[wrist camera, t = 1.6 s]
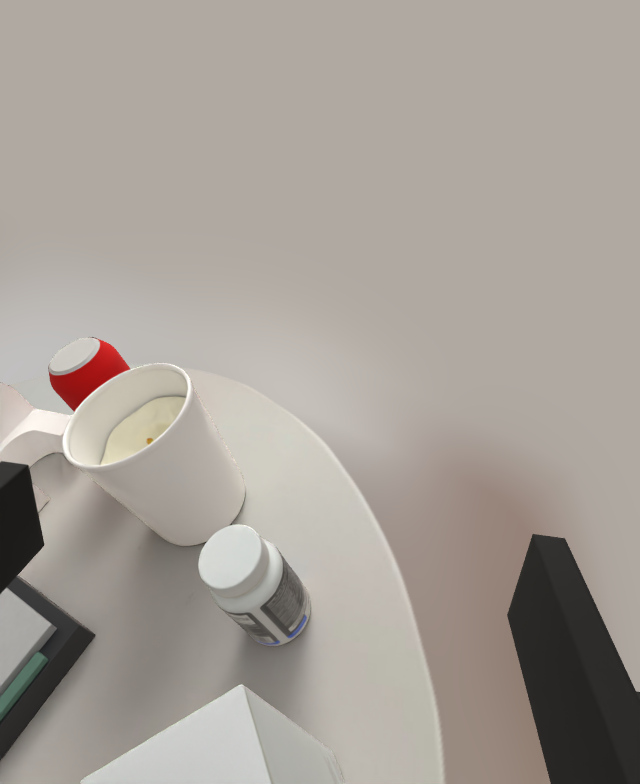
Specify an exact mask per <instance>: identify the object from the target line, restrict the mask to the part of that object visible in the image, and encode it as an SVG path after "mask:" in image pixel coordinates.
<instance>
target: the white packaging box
mask: <svg viewBox="0 0 640 784" xmlns="http://www.w3.org/2000/svg"><path fill="white" fill-rule="evenodd" d="M80 784H345V783H344V780H343V777H342V775H341V772H340V769H339V767H338V764H337V761H336V759H335V756H334V754H333V752H332V750H331V749H330V748H328V747H327V746H325V745H324V744H322V743H321V742H320V741H319V740H317V739H316V738H315V737H313V736H312V735H311V734H309V733H308V732H306V731H305V730H304V729H302V728H301V727H300V726H298V725H297V724H295V723H294V722H293V721H292V720H290V719H289V718H288V717H286V716H285V715H284V714H282V713H281V712H279V711H278V710H277V709H275V708H274V707H272V706H271V705H270V704H268V703H267V702H266V701H264V700H263V699H262V698H260V697H259V696H258V695H256V694H255V693H253V692H252V691H251V690H250V689H248V688H247V687H245V686H244V685H243V684H240V685H239V686H237V687H235V688H233V689H232V690H230V691H228V692H227V693H225V694H224V695H222V696H220V697H219V698H217V699H215V700H213V701H212V702H210V703H208V704H207V705H205V706H203V707H202V708H200V709H198V710H197V711H195V712H193V713H192V714H190V715H188V716H187V717H185V718H183V719H182V720H180V721H178V722H177V723H175V724H173V725H172V726H170V727H168V728H167V729H165V730H163V731H162V732H160V733H158V734H157V735H155V736H153V737H152V738H150V739H148V740H147V741H145V742H143V743H142V744H140V745H138V746H137V747H135V748H133V749H132V750H130V751H128V752H127V753H125V754H124V755H122V756H120V757H119V758H117V759H115V760H114V761H112V762H110V763H109V764H107V765H105V766H104V767H102V768H100V769H99V770H97V771H95V772H94V773H92V774H90V775H89V776H87V777H85V778H83V779H82V780H81V781H80Z"/></svg>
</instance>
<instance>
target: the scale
mask: <svg viewBox="0 0 640 784" xmlns="http://www.w3.org/2000/svg"><path fill="white" fill-rule="evenodd" d="M94 636H95V634H94V633H93V632H91V631H90V630H89V629H87V628H86V627H85V626H83V625H82V624H81V623H79V622H78V621H77V620H76V619H74V618H73V617H72V616H70V615H69V614H68V613H66V612H65V611H64V610H62V609H61V608H60V607H59V606H57V605H56V604H55V603H53V602H52V601H51V600H49V599H48V598H47V597H45V596H44V595H43V594H41V593H40V592H39V591H38V590H36V589H35V588H34V587H32V586H31V585H30V584H28V583H27V582H26V581H24V580H23V579H22V578H20V577H19V576H16V577H15V579H14V580H13V581H12V582H11V583H10V584H9V585H8V586H7V587H6V589H5V590H4V591H3V592H2V593H1V594H0V760H1V759H2V757H3V756H4V755H5V753H6V752H7V751H8V749H9V748H10V747H11V745H12V744H13V743H14V741H15V740H16V739H17V738H18V736H19V735H20V734H21V732H22V731H23V730H24V728H25V727H26V726H27V724H28V723H29V722H30V720H31V719H32V718H33V716H34V715H35V714H36V712H37V711H38V710H39V709H40V707H41V706H42V705H43V703H44V702H45V701H46V699H47V698H48V697H49V695H50V694H51V693H52V691H53V690H54V689H55V687H56V686H57V685H58V684H59V682H60V681H61V680H62V678H63V677H64V676H65V674H66V673H67V672H68V670H69V669H70V668H71V666H72V665H73V664H74V662H75V661H76V660H77V658H78V657H79V656H80V655H81V653H82V652H83V651H84V649H85V648H86V647H87V645H88V644H89V643H90V641H91V640H92V639H93V637H94Z"/></svg>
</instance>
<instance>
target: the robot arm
mask: <svg viewBox="0 0 640 784" xmlns="http://www.w3.org/2000/svg"><path fill="white" fill-rule="evenodd" d="M43 546H44V541H43V536H42V531H41V526H40V521H39V516H38V510H37V505H36V500H35V495H34V490H33V485H32V480H31V475H30V470H29V465H27V464H19V463H12V462H5V461H1V462H0V594H1V593H2V592H3V591H4V590H5V589H6V587H7V586H8V585H9V584H10V583H11V582H12V581H13V580H14V579H15V577H16V576H17V575H18V574H19V573H20V572H21V571H22V570H23V569H24V567H25V566H26V565H27V564H28V563H29V562H30V561H31V560H32V559H33V557H34V556H35V555H36V554H37V553H38V552H39V551H40V550H41V549H42V547H43ZM507 615H508V620H509V624H510V627H511V631H512V635H513V639H514V643H515V647H516V651H517V654H518V658H519V662H520V666H521V670H522V674H523V678H524V681H525V685H526V689H527V693H528V697H529V701H530V705H531V709H532V713H533V716H534V720H535V724H536V727H537V732H538V736H539V740H540V744H541V747H542V751H543V755H544V759H545V763H546V767H547V771H548V774H549V778H550V782H551V784H640V692H636V691H635V688H634V686H633V684H632V682H631V680H630V678H629V676H628V673H627V671H626V669H625V667H624V665H623V663H622V660H621V658H620V656H619V654H618V652H617V650H616V648H615V645H614V643H613V641H612V639H611V637H610V635H609V632H608V630H607V628H606V626H605V624H604V622H603V619H602V617H601V615H600V613H599V611H598V609H597V607H596V604H595V602H594V600H593V598H592V596H591V594H590V591H589V589H588V587H587V585H586V583H585V581H584V579H583V576H582V574H581V572H580V570H579V568H578V566H577V563H576V561H575V559H574V557H573V555H572V553H571V550H570V548H569V546H568V544H567V542H566V540H565V539H564V538H558V537H550V536H543V535H535V534H533V535H532V538H531V542H530V545H529V548H528V551H527V554H526V557H525V561H524V564H523V567H522V570H521V573H520V576H519V580H518V583H517V586H516V589H515V592H514V595H513V599H512V602H511V605H510V608H509V612H508V614H507Z"/></svg>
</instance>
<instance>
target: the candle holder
mask: <svg viewBox="0 0 640 784" xmlns="http://www.w3.org/2000/svg"><path fill="white" fill-rule="evenodd" d="M62 449H63V453H64V455H65V457H66V459H67V460H68V461H69V462H70V463H71V464H72V465H73V466H75V467H76V468H78V469H80V470H81V471H82V472H83V473H85V474H86V475H87V476H88V477H89V478H91V479H92V480H93V481H94V482H95V483H97V484H98V485H99V486H100V487H101V488H103V489H104V490H105V491H106V492H107V493H109V494H110V495H111V496H112V497H113V498H115V499H116V500H117V501H118V502H119V503H121V504H122V505H123V506H124V507H125V508H127V509H128V510H129V511H130V512H131V513H133V514H134V515H135V516H136V517H137V518H139V519H140V520H141V521H142V522H143V523H145V524H146V525H147V526H148V527H149V528H151V529H152V530H153V531H154V532H156V533H157V534H158V535H159V536H161V537H162V538H163V539H165V540H166V541H168V542H170V543H172V544H175V545H179V546H192V545H197V544H201V543H204V542H206V541H208V540H209V539H210V538H211V537H212V536H213V535H214V534H215V533H216V532H218V531H219V530H221V529H223V528H224V527H227V526H229V525H230V524H231V523H232V522H233V520H234V519H235V518H236V516H237V515H238V513H239V511H240V509H241V507H242V505H243V502H244V498H245V492H246V487H245V481H244V478H243V475H242V473H241V471H240V469H239V467H238V465H237V463H236V462H235V460H234V458H233V456H232V454H231V453H230V451H229V449H228V447H227V445H226V444H225V442H224V440H223V438H222V437H221V435H220V433H219V431H218V429H217V428H216V426H215V424H214V422H213V421H212V419H211V417H210V415H209V413H208V412H207V410H206V408H205V406H204V405H203V403H202V401H201V399H200V397H199V396H198V394H197V392H196V390H195V388H194V387H193V385H192V382H191V379H190V377H189V376H188V374H187V373H186V372H185V371H184V370H183V369H181V368H180V367H178V366H175V365H172V364H167V363H152V364H146V365H142V366H138V367H135V368H132V369H130V370H127V371H125V372H123V373H121V374H119V375H117V376H115V377H113V378H112V379H110V380H108V381H107V382H105V383H104V384H102V385H101V386H100V387H98V388H97V389H96V390H95V391H93V392H92V393H91V394H90V395H89V396H88V397H87V398H86V399H85V400H84V401H83V402H82V403H81V404H80V405H79V407H78V408H77V409H76V410H75V412H74V413H73V415H72V416H71V418H70V420H69V421H68V423H67V425H66V428H65V430H64V434H63V439H62Z"/></svg>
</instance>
